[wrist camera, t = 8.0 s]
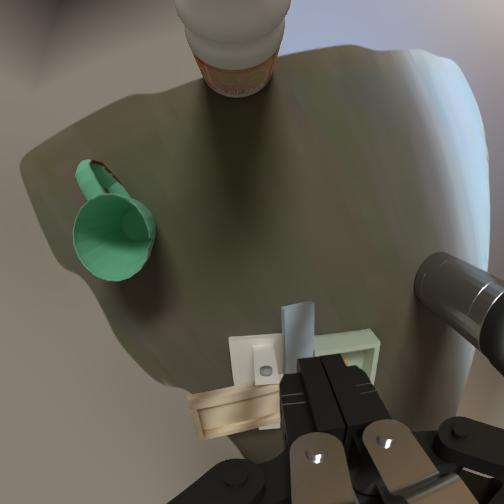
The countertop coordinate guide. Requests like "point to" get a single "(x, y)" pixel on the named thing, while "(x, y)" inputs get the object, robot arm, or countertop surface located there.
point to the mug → (111, 226)
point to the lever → (255, 396)
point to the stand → (257, 361)
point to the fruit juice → (234, 41)
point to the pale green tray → (351, 349)
